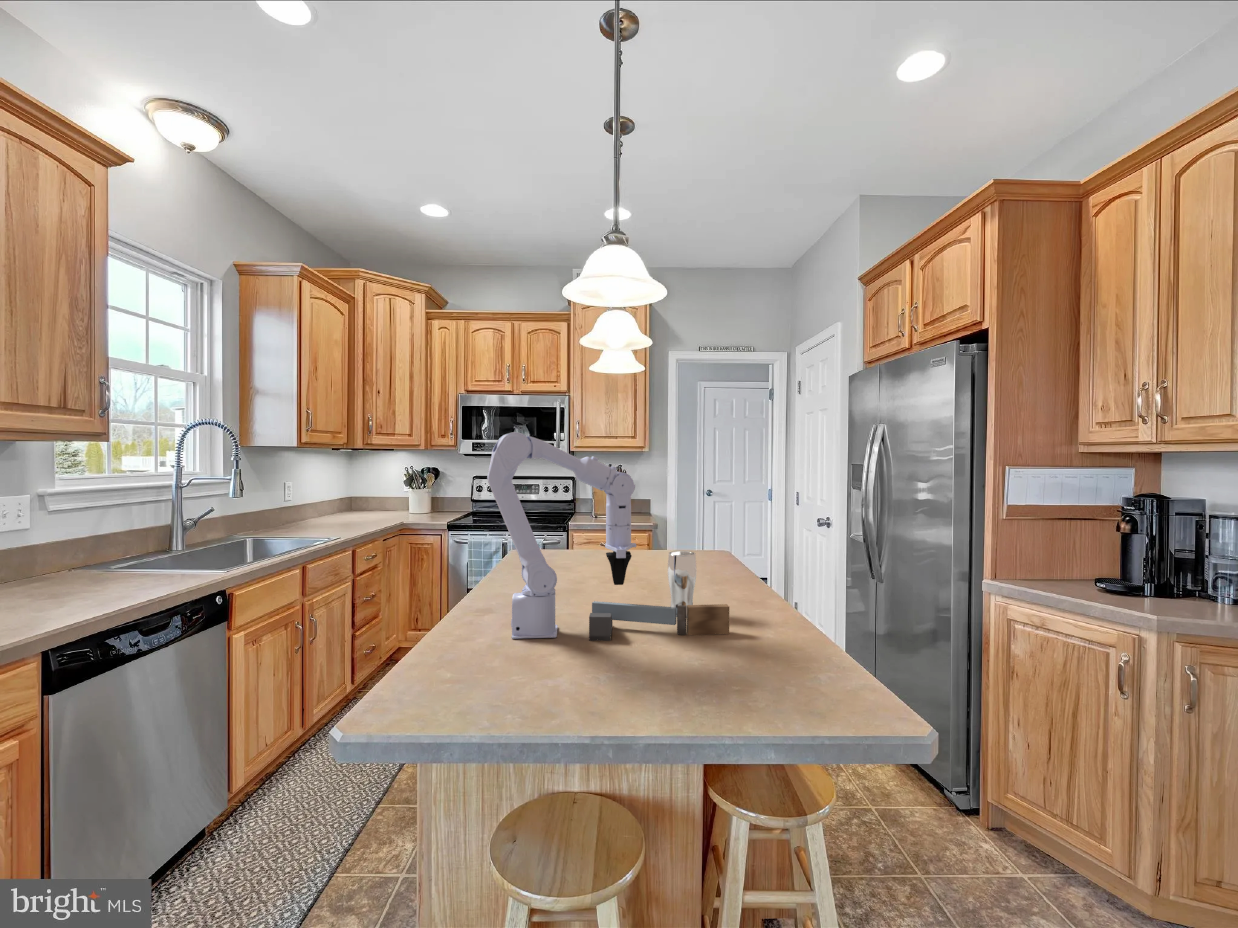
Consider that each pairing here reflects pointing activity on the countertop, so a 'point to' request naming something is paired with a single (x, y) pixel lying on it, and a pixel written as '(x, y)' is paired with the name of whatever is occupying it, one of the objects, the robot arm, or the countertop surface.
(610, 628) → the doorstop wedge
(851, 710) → the countertop surface
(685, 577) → the beer glass
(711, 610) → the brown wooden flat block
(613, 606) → the long pale blue beam
